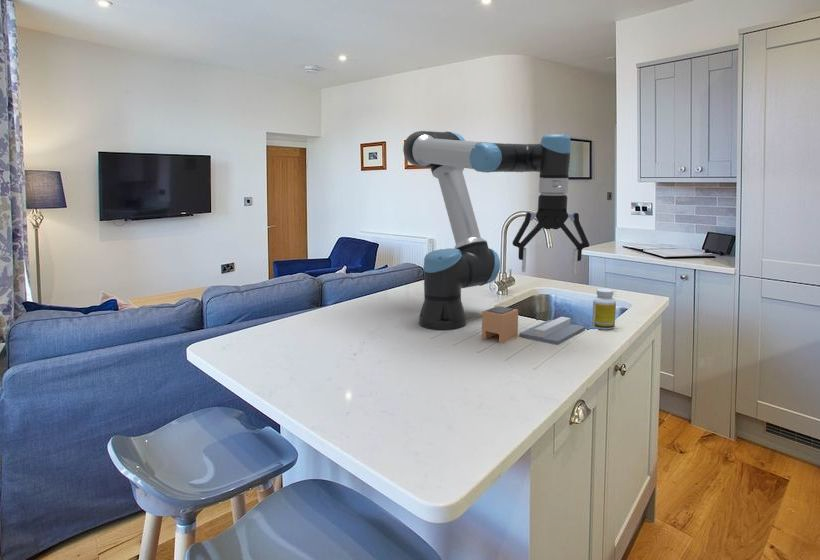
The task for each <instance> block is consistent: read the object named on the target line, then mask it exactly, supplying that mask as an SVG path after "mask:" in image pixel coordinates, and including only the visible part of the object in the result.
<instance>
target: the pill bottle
mask: <svg viewBox="0 0 820 560" xmlns="http://www.w3.org/2000/svg"><path fill="white" fill-rule="evenodd" d="M596 296H597V297H595V298H594V299H593V301H592V318H591V319H592V321H591V326H592V327H593V328H595V329H598V330H605V331H606V330H607V331H608V330H614V328H615V324H616V306H617V300H616V299H615V298H614V297H613V296H614V290H613V289H611V288H610V289H609V288H598V289H596Z"/></svg>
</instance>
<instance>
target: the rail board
mask: <svg viewBox="0 0 820 560" xmlns="http://www.w3.org/2000/svg"><path fill="white" fill-rule="evenodd" d="M571 321H572V320H571V317H567V316H560V317H557V318H555V319H553V320H551V319H548V320H546V321H543V322H541V323H539V324H536V325H535V326H532V327H530V328H527V329H526V330H523V331H521V332H518V337H520V338H526V339H529V340H534V341H538V342H543V343H548V344H553V345H555V346H558V345H560V344H562V343H564V342H565V341H568V340H569V339H571V338H573V337H575V336H576V335H578V334H581V333H582V332H584V331H586V326H583V325H578V324H573V323H572V322H571Z"/></svg>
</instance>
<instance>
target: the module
mask: <svg viewBox="0 0 820 560" xmlns="http://www.w3.org/2000/svg"><path fill="white" fill-rule="evenodd" d="M518 328H519V309H516V308H511V307H505V306H500V305H499V306H498V305H497V306H496V305H495V306H493V307H491V308H488V309H485V310H483V311H482V315H481V339H483V340H486V339H489V338H492V337H493V336H497V335H498V336H499V337H498V341H499V343H501V344H504V343H506V342H508V341H511V340H513V339H515V338H517V337H519V329H518Z"/></svg>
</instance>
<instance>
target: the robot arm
mask: <svg viewBox="0 0 820 560" xmlns="http://www.w3.org/2000/svg"><path fill="white" fill-rule="evenodd" d="M402 149H403V150H402V152H403V155H404V158H405V159H406V161H408V163H410V164H411V165H413V166H415V167H420V168H430V171H431V175H432V176H433V177H434V178H436V179H437V180H438V183H439V187H440V192H441V195H442V198H443V203H444V206H445V210H446V212H447V217H448V220H449V225H450V228H451V231H452V236H453V239H454V242H455V245H454V248H449V247H448V248H442V249H441V248H440V249H435V250H432V251H430V252H428V253H426V255H425V256H424V258H423V260H424V261H423V267H422V268H423V287H424V288H423V290H424V292H423V293H424V294H423V295H424V299H423V300H424V301H423V304H422V306H421V309H420V314H419V318H418V319H419V321H418V323H419V325H420V326H421V327H424V328H427V329H432V330H455V329H459V328H463V327H465V326H466V325H467V315H466V313H465V309H464V305H463V302H462V289H467V288H471V287H472V288H474V287H477V286H479V287H480V286H481V287H482V286H484V285H487V284H491V283H492V282H494V281H495V280H496V279H497V277H498V275H499V273H500V270H501V260H500V257H499V254H498V253H497V251H495V250H494V249H492V248H490V247H489V245H488V241H487V239H486V240H485V239H484V238H482V237H481V233H480V230H479V227H478V222H477V220H476V219H477V218H476V215H475V212H474V208H473V205H472V202H471V201H472V200H471V197H470V193H469V191H468V186H467V183H466V179H465V175H464V170H465V169H470V170H475V171H476V172H478V173H479V172H480V173H501V172H502V173H503V172H504V173H507V172H508V173H509V172H510V173H524V172H525V173H526V172H527V173H532V172H533V173H534V172H537V173H538V172H539V181H538V182H539V183H538V184H539V185H538V193H539V196H538V201H537V202H538V203H537V211H536V213H535V212H530V211H527V212H526V213H525V218H524V221H523V222H522V224H521V226H520V228H519V229H518V231H517V233H516V235H515V237H514V239H513V240H512V246H514V247H516V248H518V260H519V261H521V271H522V273H526V271H527V270H526V269H527V248H526V246H527V245H528V244H529V243H530V241H532V239H533V238H534V237H536V235H537V234H538V233H539V232H540V231H541V230H542V229H544V230H550V229H552V230H558V229H561V230H562V231H563V232H564V234H565V235H566V236H567V238H568V239H569V240H570V241H571V242H572V243H573V246H575V247H576V248H575V247H574V248H572V263H571V265H572V266H571V273H572V274H577V267H578V262H581V261H582V253H583V249H585V248H589V247H590V243H589V240H588V238H587V236H586V234H585V231H584V229H583V227H582V225H581V223H580V214H579V213H578V212H576V211H575V212H572V213H568V210H567V209H568V196H567V195H566V194H567V193H568V192H569V172H570V163H571V153H572V150H571V136H569V135H568V134H563V133H562V134H559V133H558V134H557V133H555V134H553V133H552V134H544V135H542V136H541V140H540V142H539V143H504V142H503V143H501V142H487V141H486V142H485V141H483V142H482V141H471V140H466V139H465V138H464V137H463V135H461V134H459V133H457V132H452V131H432V130H431V131H428V130H420V131H415V132H413V133H411V134H410V135H409V136H407V138H406V139H405V141H404V143H403V147H402ZM534 219H536V221H538V223H537V224H536V225H535V226H534V227H533V229H531V231H529V233H528V234H527V235H526V236H525V237H524V238H523V239H522V237H523V235H524V233H525V231H526V230H527V228H528V227H529V224H530V222H532V221H534ZM568 219H569V221H571V222H572V223H573V225H574V228H575V230H576V232H577V234H578V236H579V238H580V241H581V242H580V241H579V240H578V239H577V238H576V237H575V236H574V235H573V233H572V232H571V231H570V228H568V227H567V225H566V224H565V222H566V221H567V220H568ZM521 239H522V240H521ZM520 241H521V242H520Z"/></svg>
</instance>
